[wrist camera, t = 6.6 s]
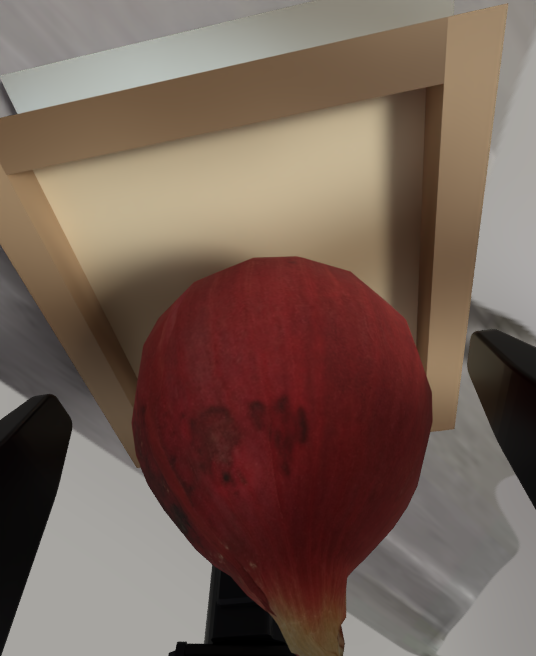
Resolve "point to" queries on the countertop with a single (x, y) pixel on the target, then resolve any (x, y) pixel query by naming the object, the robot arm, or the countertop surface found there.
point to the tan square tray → (254, 173)
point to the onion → (283, 432)
